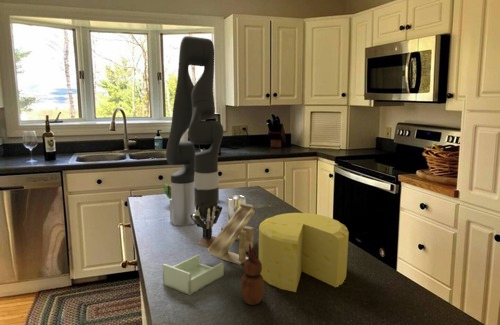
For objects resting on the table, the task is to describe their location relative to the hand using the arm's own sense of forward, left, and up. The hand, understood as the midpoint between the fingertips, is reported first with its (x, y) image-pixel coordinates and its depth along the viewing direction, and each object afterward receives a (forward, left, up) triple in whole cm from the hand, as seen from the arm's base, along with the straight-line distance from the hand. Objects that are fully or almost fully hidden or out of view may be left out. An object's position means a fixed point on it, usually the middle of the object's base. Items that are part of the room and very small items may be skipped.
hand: (207, 238), depth 127 cm
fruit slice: (-51, +46, -7) cm, 69 cm away
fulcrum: (+6, +9, -7) cm, 13 cm away
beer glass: (-5, +21, -7) cm, 23 cm away
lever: (+3, +6, +2) cm, 7 cm away
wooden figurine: (+26, -13, -7) cm, 30 cm away
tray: (+6, -13, -7) cm, 16 cm away
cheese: (+28, +10, -7) cm, 31 cm away
